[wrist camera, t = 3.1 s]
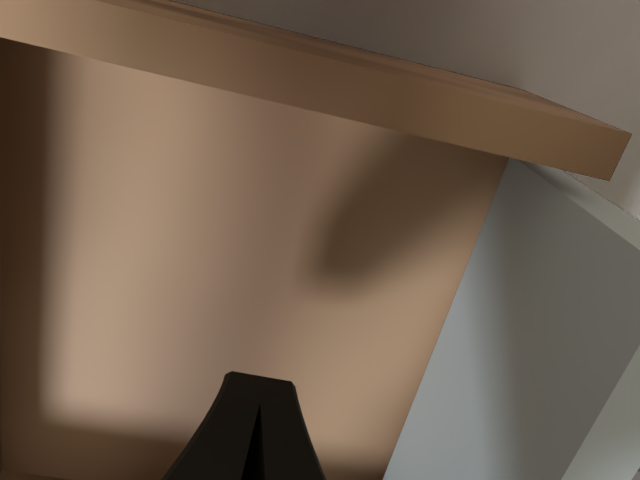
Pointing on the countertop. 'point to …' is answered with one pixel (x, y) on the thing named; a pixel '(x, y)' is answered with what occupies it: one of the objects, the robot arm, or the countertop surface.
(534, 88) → the countertop surface
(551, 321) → the pale grey board
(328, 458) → the wooden tray
